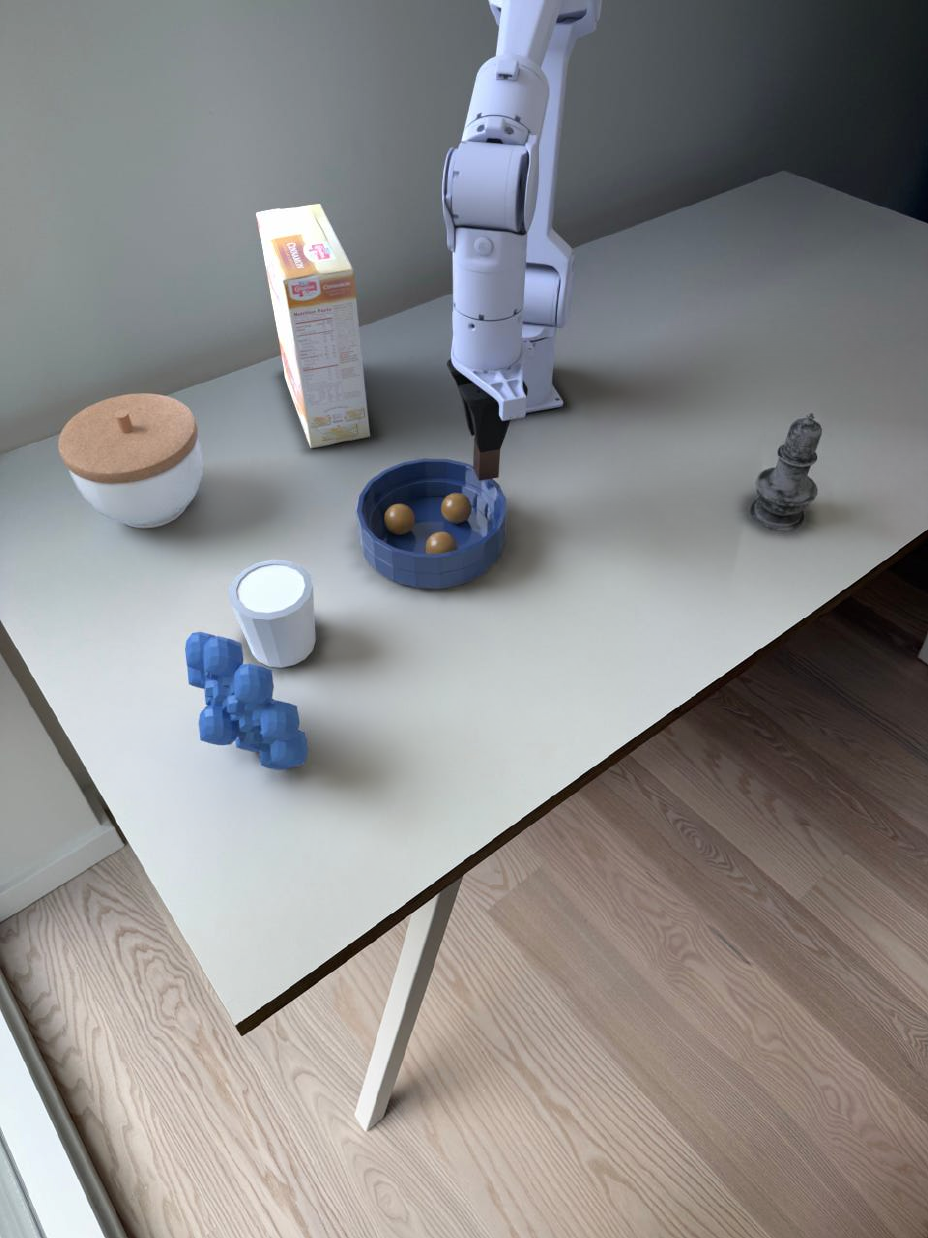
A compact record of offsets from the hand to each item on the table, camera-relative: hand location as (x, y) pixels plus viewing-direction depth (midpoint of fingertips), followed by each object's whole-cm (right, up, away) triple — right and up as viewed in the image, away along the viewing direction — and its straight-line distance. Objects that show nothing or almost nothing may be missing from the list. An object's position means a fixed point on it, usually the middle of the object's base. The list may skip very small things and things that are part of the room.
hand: (485, 440), depth 82 cm
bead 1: (-8, -7, +4) cm, 11 cm away
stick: (0, -3, +3) cm, 4 cm away
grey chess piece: (+30, -6, +8) cm, 31 cm away
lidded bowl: (-34, -5, +9) cm, 35 cm away
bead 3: (-4, -10, +1) cm, 11 cm away
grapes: (-19, -27, -11) cm, 35 cm away
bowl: (-5, -9, +5) cm, 11 cm away
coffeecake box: (-18, +8, +20) cm, 28 cm away
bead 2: (-3, -6, +5) cm, 8 cm away
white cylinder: (-18, -19, -4) cm, 26 cm away
